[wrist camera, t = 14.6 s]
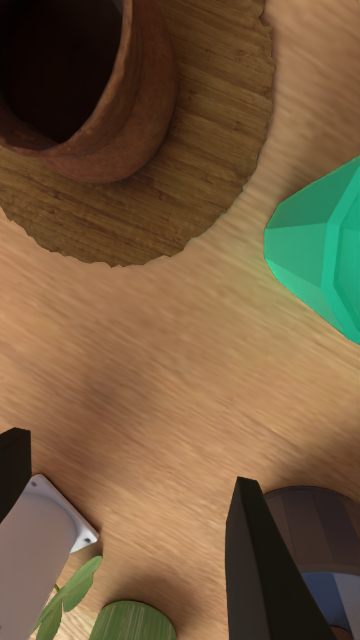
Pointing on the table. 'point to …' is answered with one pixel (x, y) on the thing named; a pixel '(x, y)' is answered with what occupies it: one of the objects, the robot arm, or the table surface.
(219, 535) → the table surface
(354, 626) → the lid
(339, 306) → the candle
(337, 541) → the pot
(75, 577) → the seedling
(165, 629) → the ramekin
